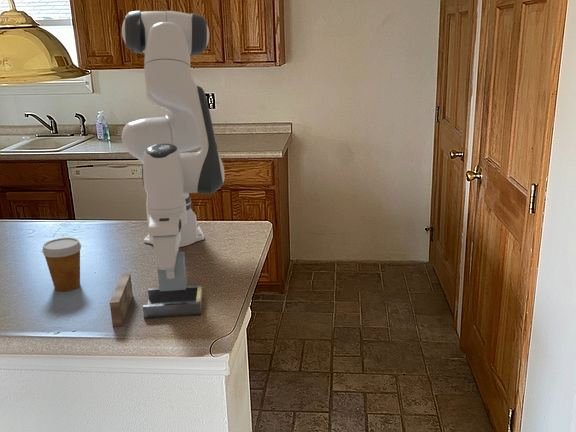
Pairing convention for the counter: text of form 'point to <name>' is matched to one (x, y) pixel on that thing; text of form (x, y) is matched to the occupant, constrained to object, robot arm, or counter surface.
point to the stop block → (180, 276)
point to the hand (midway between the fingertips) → (172, 272)
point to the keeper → (173, 302)
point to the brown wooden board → (121, 300)
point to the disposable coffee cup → (63, 262)
